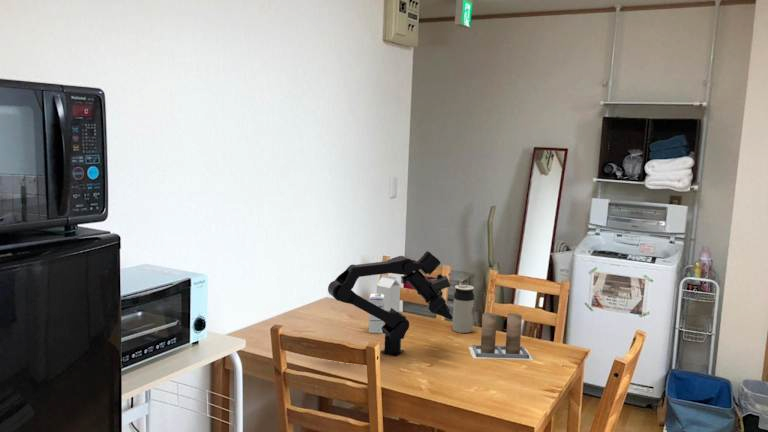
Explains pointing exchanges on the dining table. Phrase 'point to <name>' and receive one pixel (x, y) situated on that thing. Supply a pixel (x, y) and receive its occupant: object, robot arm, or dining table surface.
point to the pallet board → (499, 353)
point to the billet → (488, 333)
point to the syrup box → (374, 322)
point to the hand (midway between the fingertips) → (450, 315)
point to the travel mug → (463, 309)
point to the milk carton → (389, 292)
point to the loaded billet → (513, 333)
